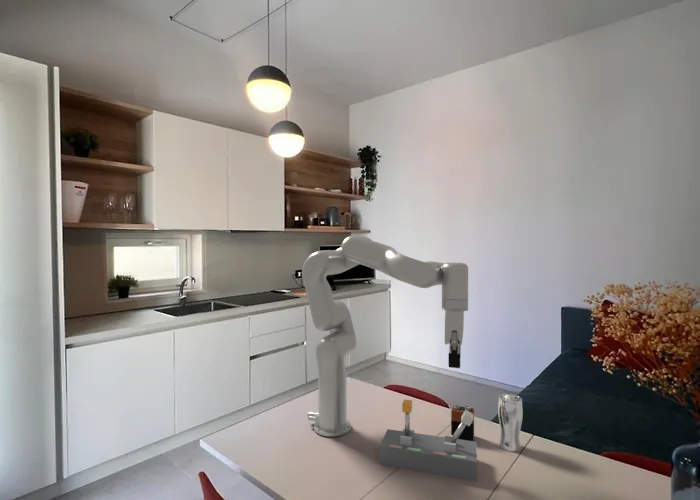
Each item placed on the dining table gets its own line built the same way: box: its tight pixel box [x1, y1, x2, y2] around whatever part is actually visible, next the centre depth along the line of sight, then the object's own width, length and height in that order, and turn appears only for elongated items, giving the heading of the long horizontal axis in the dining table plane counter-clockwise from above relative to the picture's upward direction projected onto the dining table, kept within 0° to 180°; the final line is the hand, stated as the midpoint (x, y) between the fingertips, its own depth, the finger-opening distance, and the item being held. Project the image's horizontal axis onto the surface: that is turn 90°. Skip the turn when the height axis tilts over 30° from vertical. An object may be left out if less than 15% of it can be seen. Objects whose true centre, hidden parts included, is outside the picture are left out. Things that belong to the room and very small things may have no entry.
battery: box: [450, 404, 475, 441], centre depth 125 cm, size 4×7×10 cm, turn 69°
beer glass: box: [497, 393, 524, 453], centre depth 119 cm, size 7×7×15 cm
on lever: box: [449, 410, 475, 443], centre depth 108 cm, size 2×3×11 cm
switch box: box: [378, 427, 478, 482], centre depth 111 cm, size 26×11×7 cm, turn 73°
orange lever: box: [401, 399, 413, 437], centre depth 112 cm, size 2×3×11 cm
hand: (454, 362), depth 115 cm, fingers open, 9 cm apart
